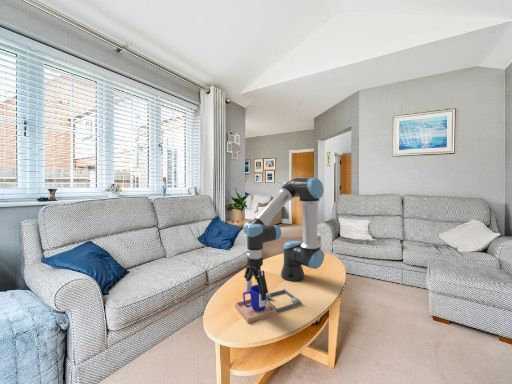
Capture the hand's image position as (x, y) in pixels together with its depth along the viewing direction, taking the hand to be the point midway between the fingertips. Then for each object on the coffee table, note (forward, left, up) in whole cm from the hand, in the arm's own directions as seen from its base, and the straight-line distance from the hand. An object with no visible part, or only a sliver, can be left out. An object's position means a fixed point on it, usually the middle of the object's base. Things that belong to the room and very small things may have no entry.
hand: (255, 299), depth 112 cm
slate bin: (-16, -1, -5) cm, 17 cm away
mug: (0, 0, -5) cm, 5 cm away
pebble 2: (-21, +4, -5) cm, 22 cm away
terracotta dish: (0, 0, -5) cm, 5 cm away
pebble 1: (-11, -6, -5) cm, 14 cm away
